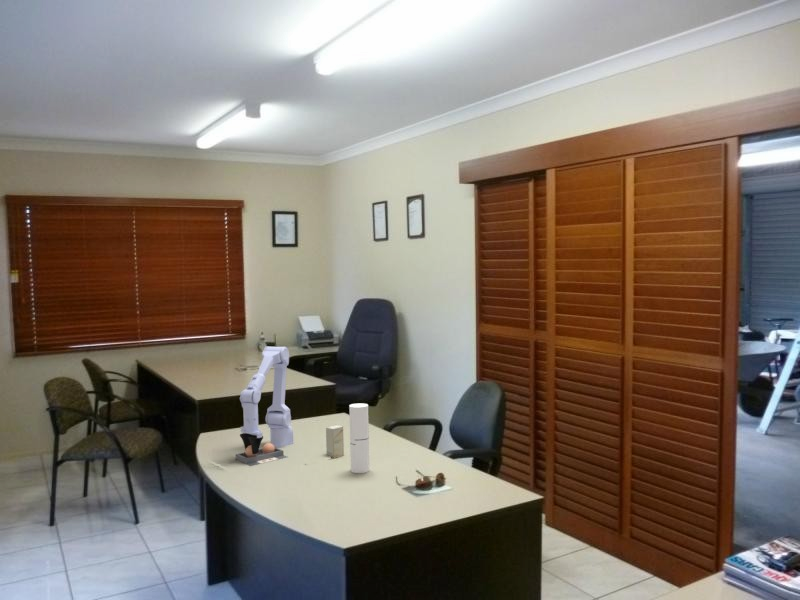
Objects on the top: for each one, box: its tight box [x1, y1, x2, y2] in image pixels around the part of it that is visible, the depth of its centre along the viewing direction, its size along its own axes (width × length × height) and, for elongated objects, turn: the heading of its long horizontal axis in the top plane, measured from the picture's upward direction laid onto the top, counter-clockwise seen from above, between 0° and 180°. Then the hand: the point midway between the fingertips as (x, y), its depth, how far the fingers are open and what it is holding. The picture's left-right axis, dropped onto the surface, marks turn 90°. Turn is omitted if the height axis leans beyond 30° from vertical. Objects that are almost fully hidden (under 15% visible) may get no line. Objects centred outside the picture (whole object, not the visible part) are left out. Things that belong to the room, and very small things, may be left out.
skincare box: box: [325, 424, 345, 459], centre depth 262 cm, size 6×4×12 cm
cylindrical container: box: [348, 402, 370, 474], centre depth 243 cm, size 7×7×25 cm
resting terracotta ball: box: [261, 442, 275, 454], centre depth 262 cm, size 5×5×5 cm
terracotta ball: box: [244, 445, 258, 457], centre depth 257 cm, size 5×5×5 cm
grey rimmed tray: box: [235, 447, 288, 467], centre depth 258 cm, size 17×13×3 cm
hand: (251, 452), depth 257 cm, fingers open, 5 cm apart
